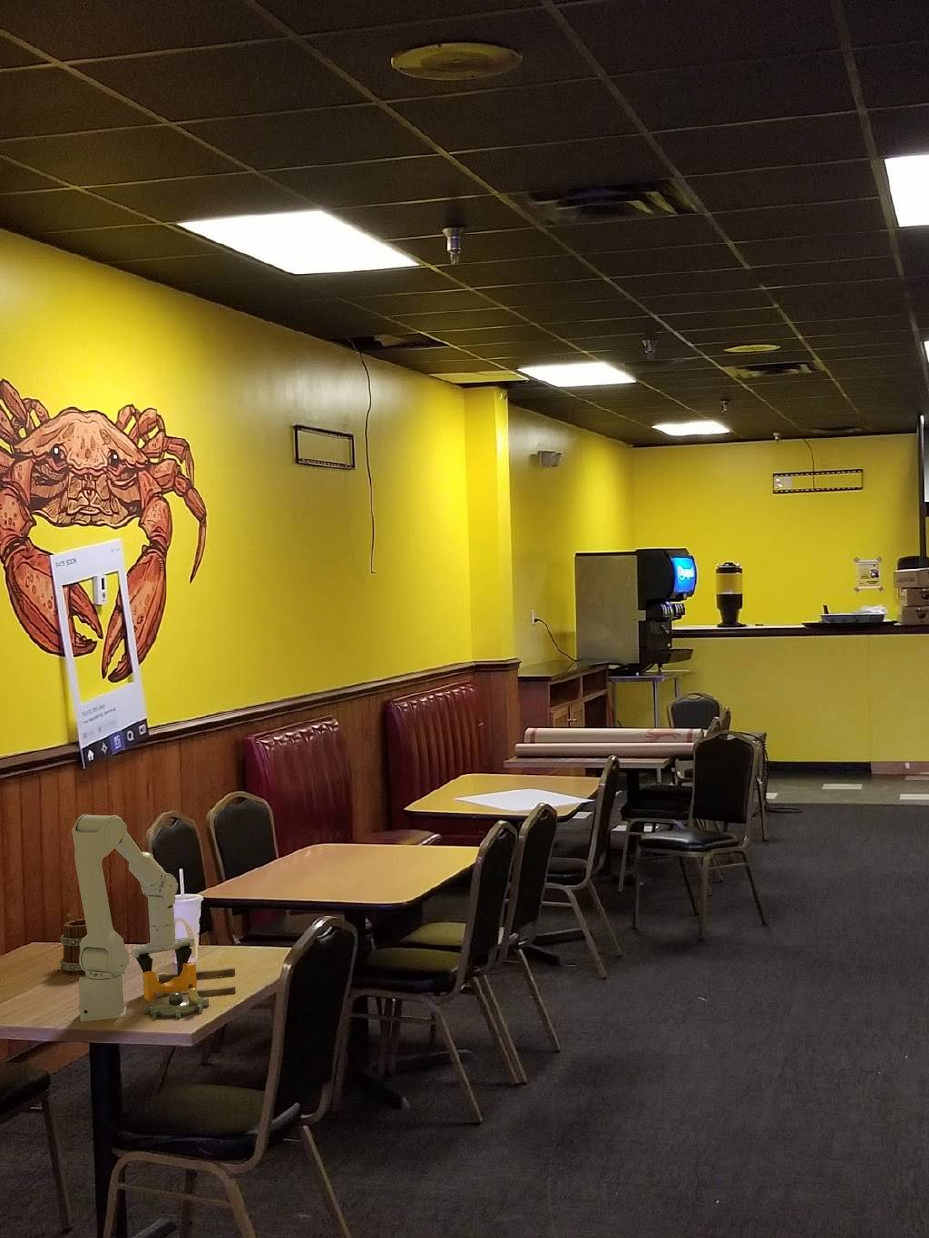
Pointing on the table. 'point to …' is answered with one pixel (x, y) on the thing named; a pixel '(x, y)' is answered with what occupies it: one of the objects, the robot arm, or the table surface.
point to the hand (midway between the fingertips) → (165, 982)
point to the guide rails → (200, 974)
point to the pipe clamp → (170, 982)
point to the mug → (72, 945)
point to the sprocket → (176, 1005)
